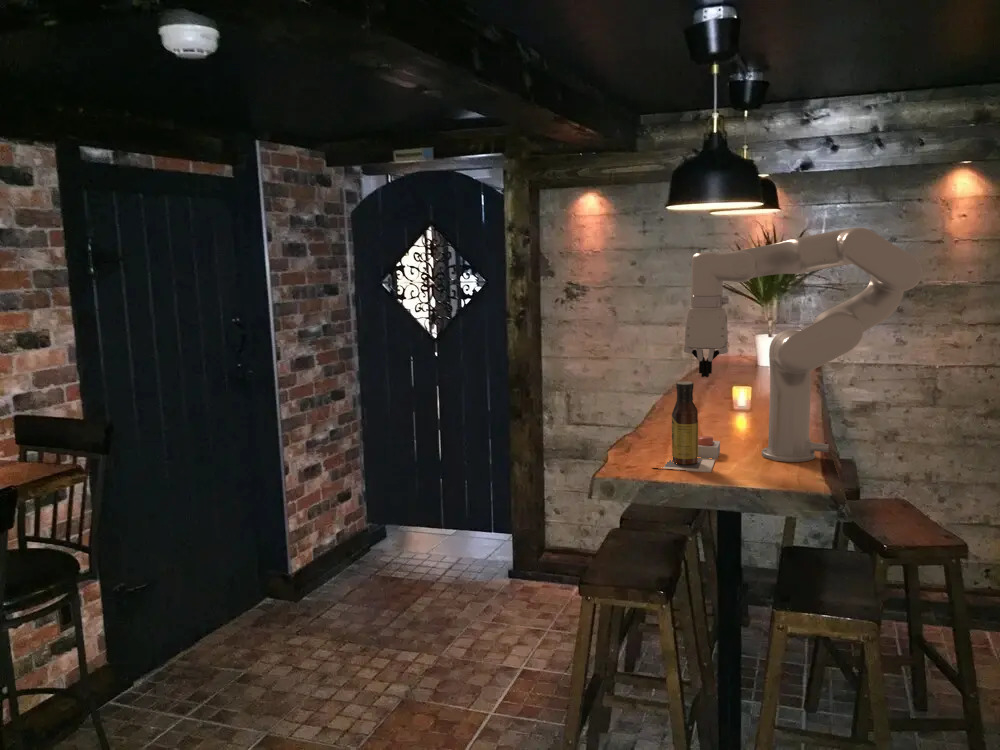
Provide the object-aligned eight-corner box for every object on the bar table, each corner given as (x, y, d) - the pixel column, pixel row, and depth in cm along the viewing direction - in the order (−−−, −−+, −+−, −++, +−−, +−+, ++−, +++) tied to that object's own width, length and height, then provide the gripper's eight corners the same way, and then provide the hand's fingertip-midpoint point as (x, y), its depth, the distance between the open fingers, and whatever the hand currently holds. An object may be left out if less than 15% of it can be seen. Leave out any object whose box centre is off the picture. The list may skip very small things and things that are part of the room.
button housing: (719, 452, 212) (720, 441, 212) (717, 459, 205) (717, 447, 205) (692, 451, 214) (692, 439, 214) (688, 457, 208) (689, 445, 207)
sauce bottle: (679, 458, 206) (680, 379, 203) (702, 461, 202) (703, 381, 199) (666, 463, 201) (667, 382, 198) (690, 467, 197) (691, 385, 194)
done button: (713, 447, 211) (713, 436, 210) (712, 451, 207) (712, 439, 207) (697, 447, 212) (697, 435, 212) (695, 450, 208) (695, 438, 208)
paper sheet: (715, 460, 205) (715, 458, 205) (710, 472, 194) (710, 470, 193) (658, 456, 209) (658, 455, 209) (650, 468, 198) (650, 467, 198)
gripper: (739, 302, 205) (737, 375, 208) (677, 302, 210) (676, 373, 213) (737, 304, 198) (735, 379, 201) (673, 303, 203) (673, 377, 206)
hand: (705, 376), depth 207 cm, fingers closed
